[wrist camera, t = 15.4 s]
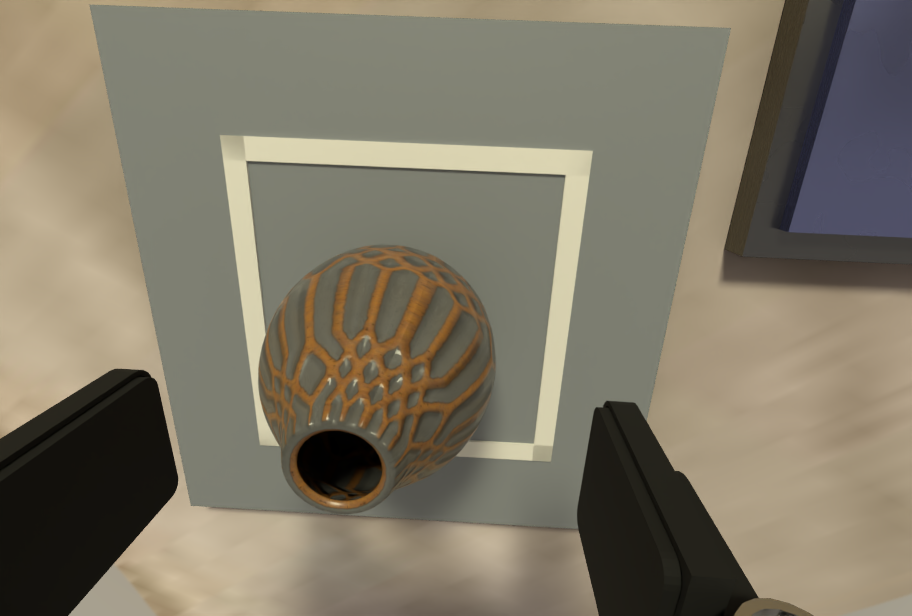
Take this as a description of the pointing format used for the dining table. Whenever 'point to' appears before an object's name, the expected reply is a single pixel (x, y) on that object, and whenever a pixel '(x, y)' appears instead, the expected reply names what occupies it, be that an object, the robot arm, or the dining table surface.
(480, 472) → the board
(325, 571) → the dining table surface
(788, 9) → the ink pad
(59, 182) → the dining table surface
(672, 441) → the dining table surface
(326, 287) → the vase
